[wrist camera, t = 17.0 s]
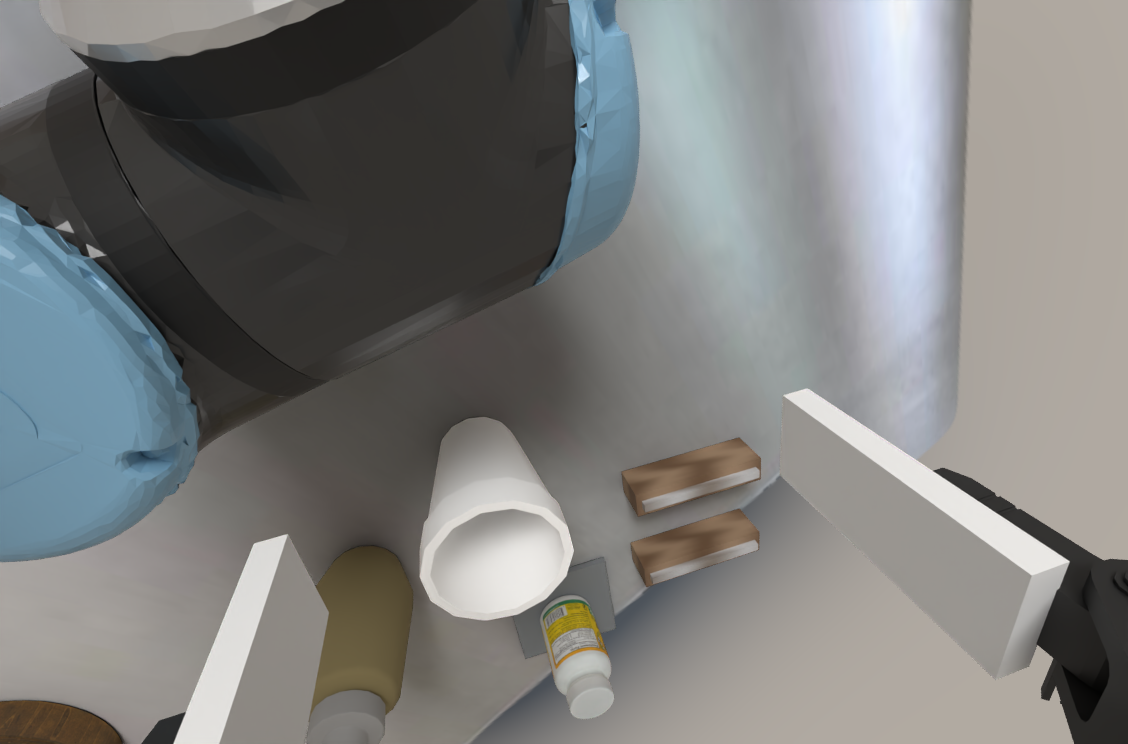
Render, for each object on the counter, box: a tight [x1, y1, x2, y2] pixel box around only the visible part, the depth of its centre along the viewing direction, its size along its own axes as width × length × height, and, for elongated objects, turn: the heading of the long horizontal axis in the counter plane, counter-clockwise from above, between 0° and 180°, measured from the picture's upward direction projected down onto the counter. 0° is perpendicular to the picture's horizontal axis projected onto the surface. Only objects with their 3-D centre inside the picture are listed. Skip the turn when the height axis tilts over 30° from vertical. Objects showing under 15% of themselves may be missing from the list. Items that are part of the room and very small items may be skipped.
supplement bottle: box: [540, 595, 614, 719], centre depth 49 cm, size 5×5×10 cm
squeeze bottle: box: [306, 546, 413, 744], centre depth 38 cm, size 8×8×18 cm
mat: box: [513, 557, 616, 659], centre depth 53 cm, size 10×10×1 cm
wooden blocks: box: [622, 438, 761, 587], centre depth 50 cm, size 12×11×4 cm
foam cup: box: [420, 417, 574, 621], centre depth 38 cm, size 10×9×13 cm
